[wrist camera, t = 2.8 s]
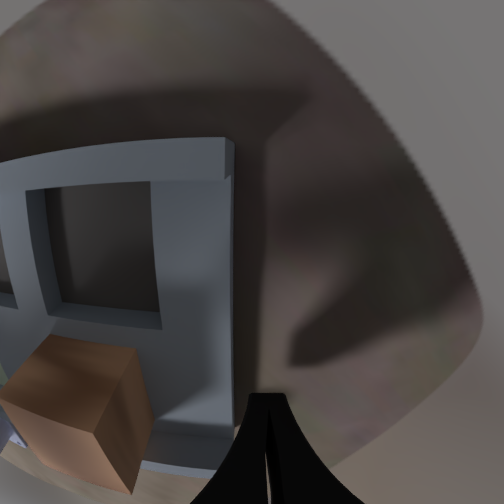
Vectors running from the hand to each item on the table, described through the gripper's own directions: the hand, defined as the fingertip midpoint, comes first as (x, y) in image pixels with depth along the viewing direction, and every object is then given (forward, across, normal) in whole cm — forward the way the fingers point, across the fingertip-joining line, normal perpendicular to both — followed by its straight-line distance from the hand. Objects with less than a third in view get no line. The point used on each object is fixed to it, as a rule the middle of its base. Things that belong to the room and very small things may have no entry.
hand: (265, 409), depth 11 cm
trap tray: (+2, +12, -3) cm, 13 cm away
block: (+1, +7, 0) cm, 7 cm away
